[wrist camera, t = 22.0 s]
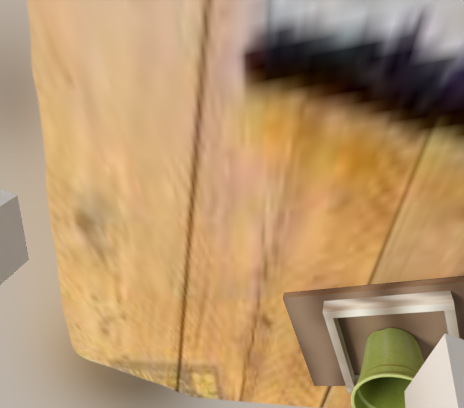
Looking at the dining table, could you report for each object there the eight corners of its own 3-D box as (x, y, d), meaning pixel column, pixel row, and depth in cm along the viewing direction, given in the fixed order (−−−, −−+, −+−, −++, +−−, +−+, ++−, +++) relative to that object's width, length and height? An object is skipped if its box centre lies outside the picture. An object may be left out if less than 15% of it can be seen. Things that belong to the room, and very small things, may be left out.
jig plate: (314, 379, 58) (313, 398, 56) (284, 293, 52) (280, 309, 50) (509, 378, 49) (518, 399, 46) (499, 272, 43) (508, 290, 40)
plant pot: (343, 357, 53) (340, 417, 46) (364, 306, 48) (365, 364, 41) (416, 380, 52) (425, 446, 44) (445, 329, 47) (461, 394, 40)
